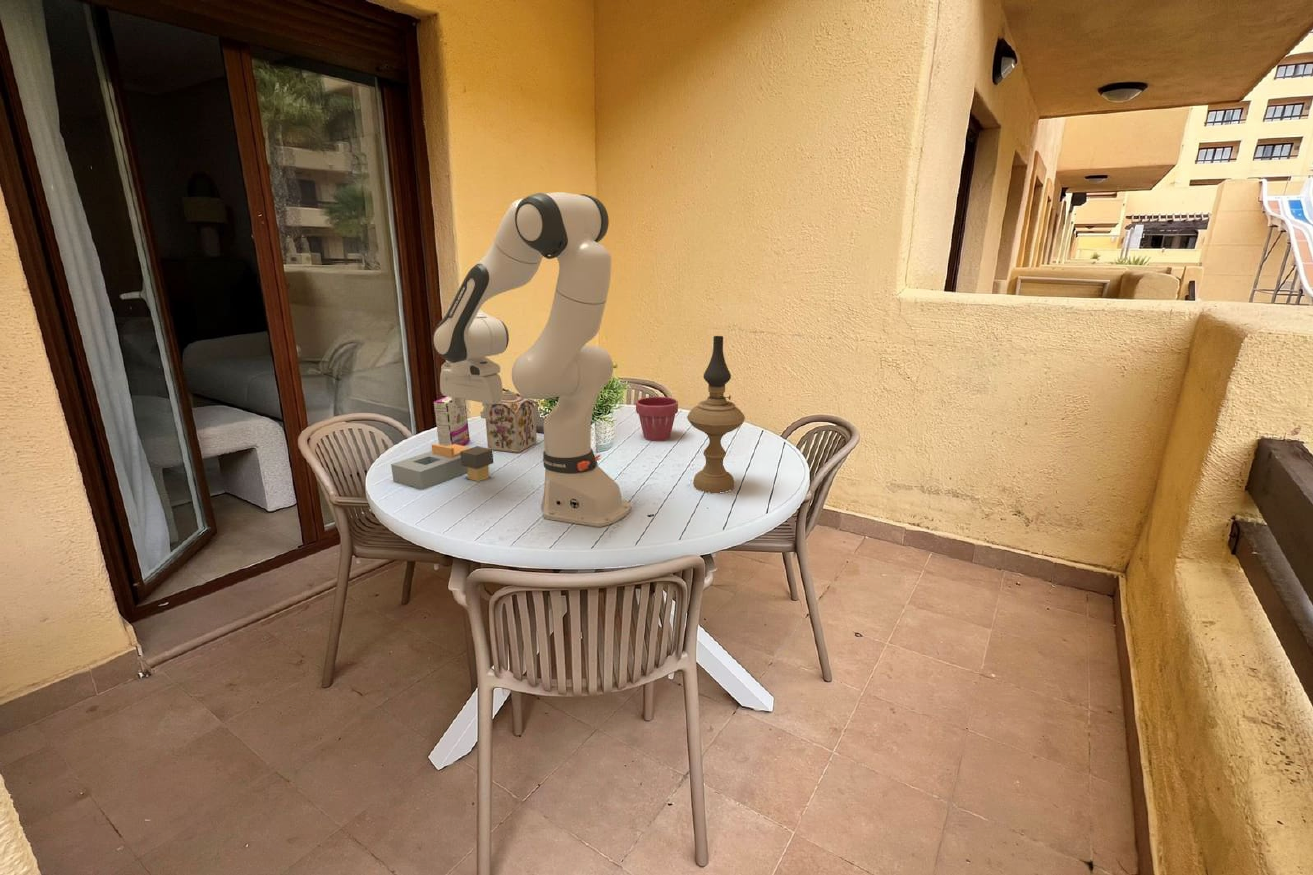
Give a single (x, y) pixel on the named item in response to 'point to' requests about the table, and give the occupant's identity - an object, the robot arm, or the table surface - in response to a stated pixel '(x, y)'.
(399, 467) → the socket block
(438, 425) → the candy bar box
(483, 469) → the plug
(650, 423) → the plant pot
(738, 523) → the table surface
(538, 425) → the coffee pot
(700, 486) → the oil lamp
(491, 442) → the decorative jar
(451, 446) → the panel
